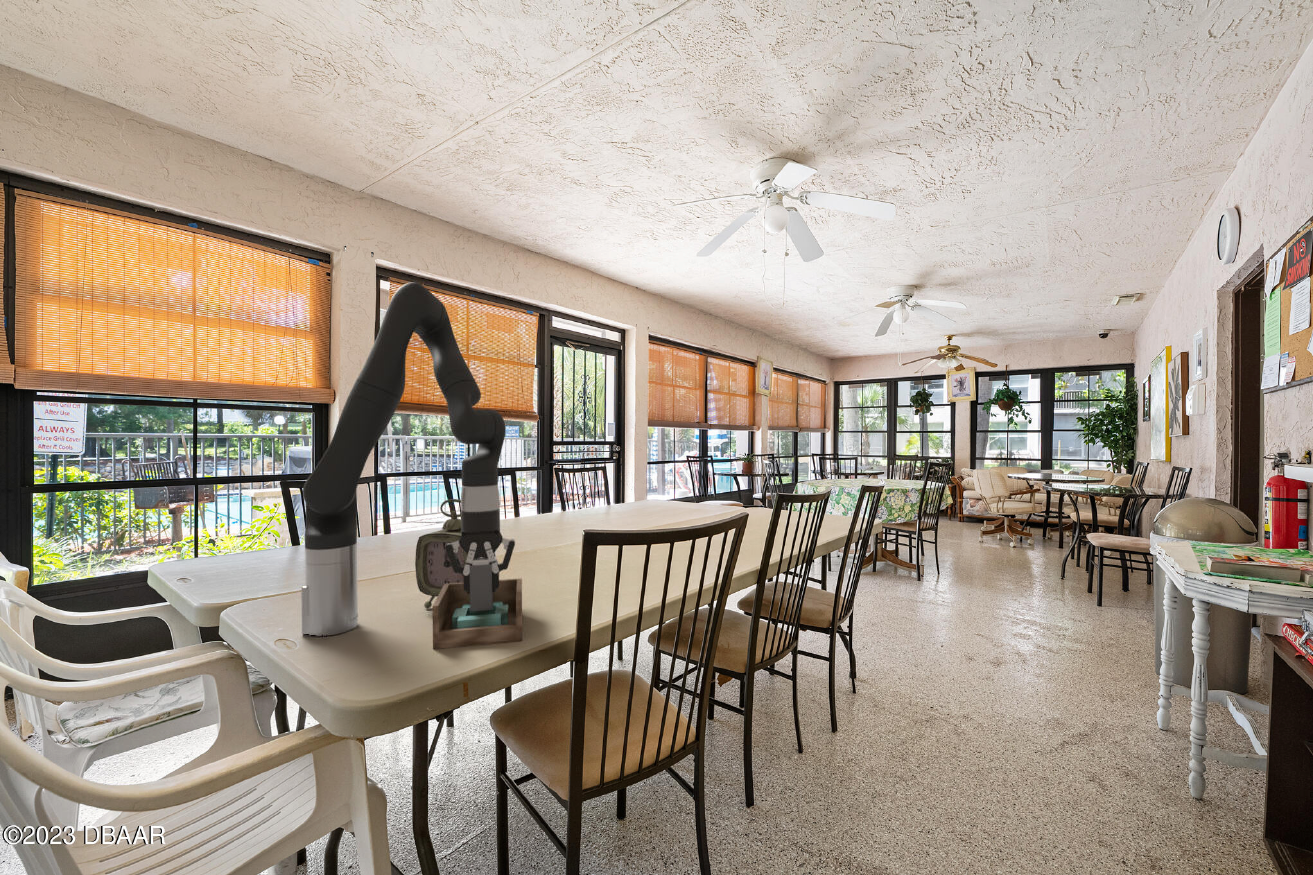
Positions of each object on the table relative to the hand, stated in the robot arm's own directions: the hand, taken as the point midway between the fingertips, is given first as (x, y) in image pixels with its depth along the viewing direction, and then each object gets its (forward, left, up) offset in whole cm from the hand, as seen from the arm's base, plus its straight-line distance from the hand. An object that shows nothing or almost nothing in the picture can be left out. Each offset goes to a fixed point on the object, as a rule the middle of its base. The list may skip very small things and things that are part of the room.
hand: (481, 591), depth 112 cm
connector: (0, 0, -3) cm, 3 cm away
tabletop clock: (-7, +18, -8) cm, 21 cm away
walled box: (0, 0, -8) cm, 8 cm away
